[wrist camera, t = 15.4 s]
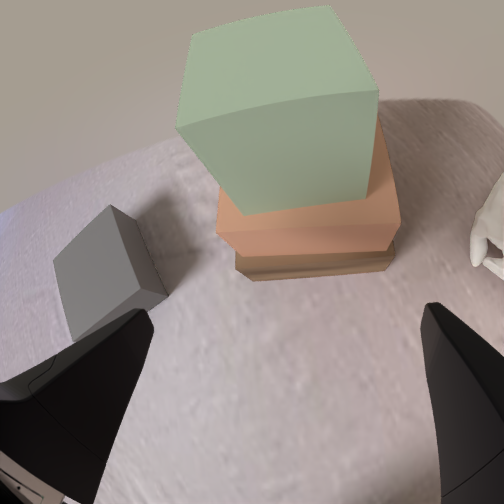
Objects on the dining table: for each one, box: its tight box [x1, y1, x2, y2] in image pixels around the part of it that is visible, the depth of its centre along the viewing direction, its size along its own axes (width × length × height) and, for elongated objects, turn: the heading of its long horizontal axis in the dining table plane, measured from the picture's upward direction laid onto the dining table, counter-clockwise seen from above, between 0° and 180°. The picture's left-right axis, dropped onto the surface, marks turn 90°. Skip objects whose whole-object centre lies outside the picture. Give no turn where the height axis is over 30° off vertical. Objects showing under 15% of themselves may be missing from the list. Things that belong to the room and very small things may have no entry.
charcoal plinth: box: [53, 204, 168, 342], centre depth 24 cm, size 9×9×4 cm
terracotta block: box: [216, 113, 401, 257], centre depth 17 cm, size 9×9×4 cm
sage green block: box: [175, 5, 379, 216], centre depth 11 cm, size 6×6×7 cm
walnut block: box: [235, 240, 395, 281], centre depth 21 cm, size 10×10×4 cm
